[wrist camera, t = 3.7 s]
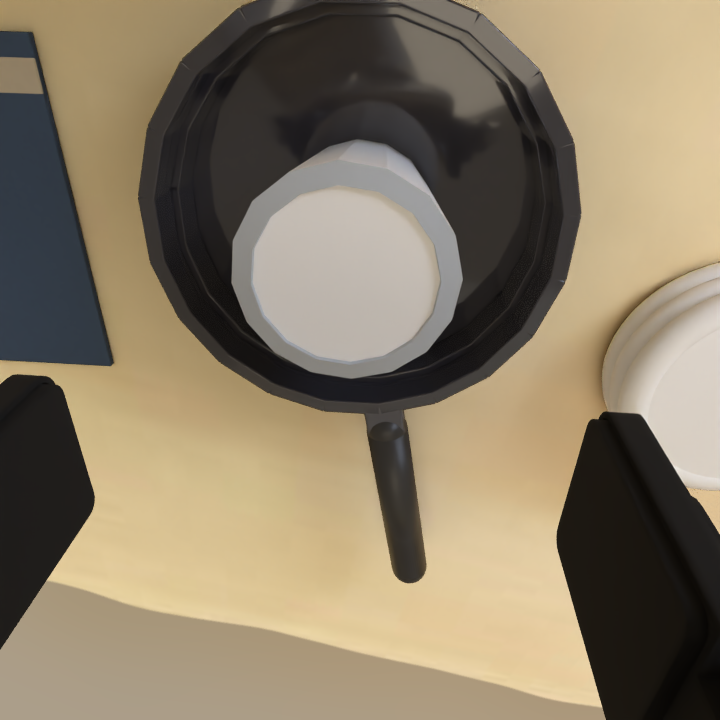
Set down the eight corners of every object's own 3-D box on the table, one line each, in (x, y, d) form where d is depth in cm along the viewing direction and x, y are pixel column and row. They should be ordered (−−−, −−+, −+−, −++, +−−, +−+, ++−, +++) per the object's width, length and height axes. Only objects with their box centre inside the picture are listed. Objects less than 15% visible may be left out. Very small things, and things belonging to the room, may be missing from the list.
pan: (201, 361, 27) (175, 403, 24) (144, -20, 19) (95, -28, 16) (518, 378, 26) (533, 424, 23) (597, -10, 18) (635, -17, 15)
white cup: (450, 117, 20) (470, 156, 14) (444, 291, 24) (458, 380, 18) (265, 125, 21) (208, 165, 15) (286, 293, 24) (247, 380, 18)
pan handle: (362, 388, 24) (359, 413, 23) (403, 384, 24) (403, 409, 23) (394, 562, 30) (393, 591, 29) (427, 561, 30) (428, 590, 28)
